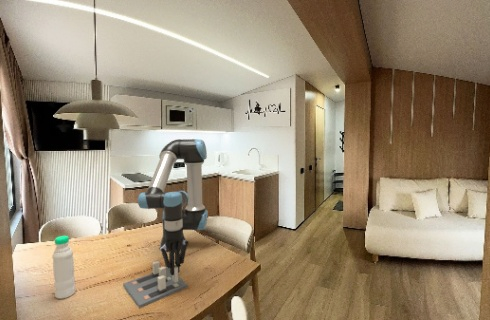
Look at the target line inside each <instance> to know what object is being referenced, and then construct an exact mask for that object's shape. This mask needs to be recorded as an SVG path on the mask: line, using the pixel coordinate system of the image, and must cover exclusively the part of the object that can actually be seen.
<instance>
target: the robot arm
mask: <svg viewBox="0 0 490 320" xmlns="http://www.w3.org/2000/svg"><path fill="white" fill-rule="evenodd" d="M207 158H208V155H207V147H206V143H205V141H204V140H203V139H199V138H197V139H196V138H192V139H189V138H188V139H186V138H185V139H180V138H179V139H173V140H171V141H170V142H169V143H167V144H165V145H164V147H163V148H162V149H161V151H160V153H159V161H158V163H157V166H156V168H155V170H154V173H153V175H152V178H151V180H150V182H149V186H148V189H147V190H146V192H145V191H144V192H141V193H139V195H138V197H137V204H138V207H139V208H140V209H145V210H151V209H155V210H157V209H158V210H159V209H161V210H162V209H163V211H162V219H161V221H162V237H161V241H160V244H159V245H160V246H159V248H158V249H159V251H160V252H161V255H162V258H163V261H164V266H165V267H166V268H169V269H170V274H171V275H172V280H173V281H174V282H175V283H176V282H178V277H179V273H180V272H181V269H180V267H181V266H182V264H184V263H185V258H186V257H185V256H186V253H187V247H188V245H189V241H188V240H187V239H186V237H185V235H184V231H201V230H205V229H206V226H207V222H208V215H209V211H208V210H207V209H206V206H205V205H204V204H203V177H202V176H203V175H202V174H203V171H202V167H203V166H202V165H203V164H204V163H205V160H206V159H207ZM177 160H183V164H185V165H186V184H187V185H186V189H187V192H186V191H184V190H178V191H170V192H165V190H166V186H167V184H168V180H169V178H170V175H171V172H172V169H173V166H174V164H175V163H176V162H177ZM184 208H185V209H184ZM167 252H168V253H167ZM168 255H169V256H168Z"/></svg>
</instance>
